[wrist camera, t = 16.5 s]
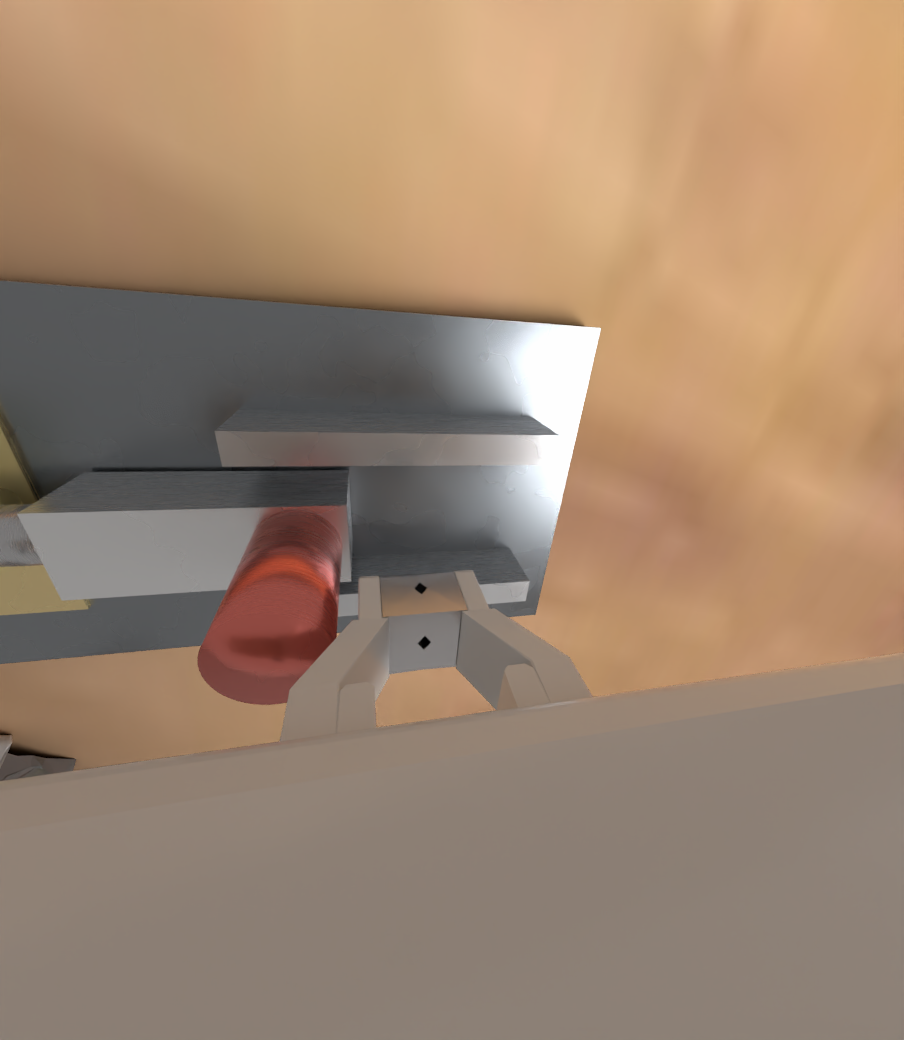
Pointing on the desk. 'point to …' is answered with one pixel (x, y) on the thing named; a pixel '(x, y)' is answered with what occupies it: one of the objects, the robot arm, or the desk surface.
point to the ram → (205, 558)
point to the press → (287, 436)
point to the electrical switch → (28, 763)
